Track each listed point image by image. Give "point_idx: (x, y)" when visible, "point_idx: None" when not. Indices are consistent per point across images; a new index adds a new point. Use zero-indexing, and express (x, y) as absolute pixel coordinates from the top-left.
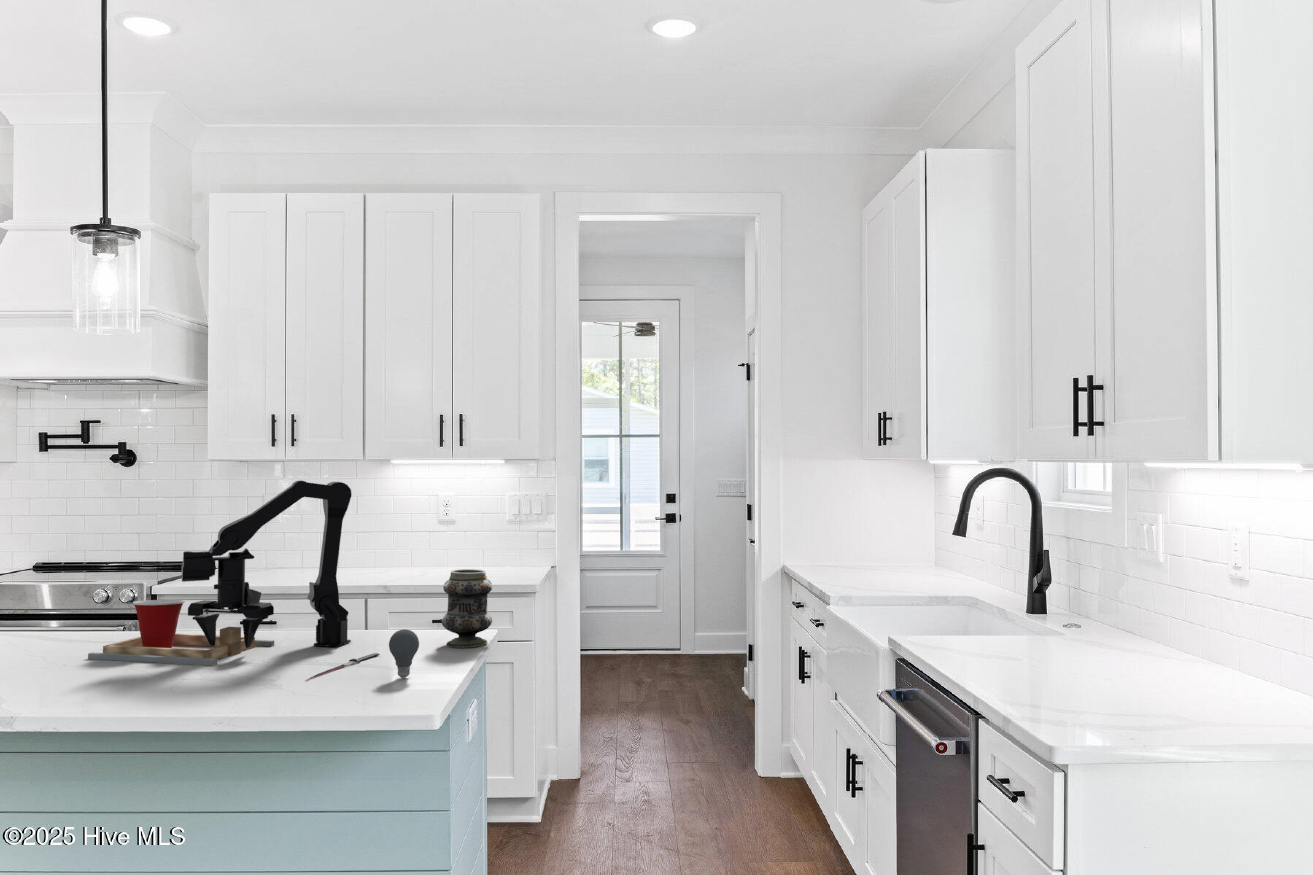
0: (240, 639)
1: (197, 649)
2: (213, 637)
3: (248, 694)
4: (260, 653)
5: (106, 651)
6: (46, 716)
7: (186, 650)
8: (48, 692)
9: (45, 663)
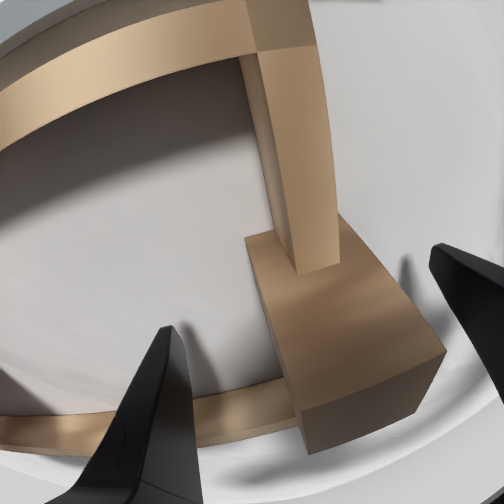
0: (384, 271)
1: (263, 425)
2: (176, 382)
3: None
4: (443, 169)
5: None
6: (330, 487)
7: (231, 440)
8: (235, 497)
9: (2, 456)
